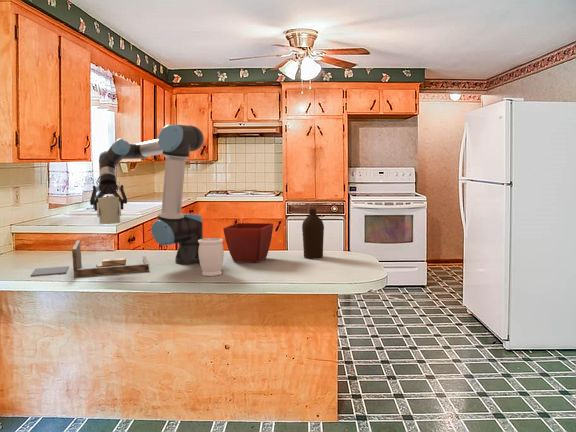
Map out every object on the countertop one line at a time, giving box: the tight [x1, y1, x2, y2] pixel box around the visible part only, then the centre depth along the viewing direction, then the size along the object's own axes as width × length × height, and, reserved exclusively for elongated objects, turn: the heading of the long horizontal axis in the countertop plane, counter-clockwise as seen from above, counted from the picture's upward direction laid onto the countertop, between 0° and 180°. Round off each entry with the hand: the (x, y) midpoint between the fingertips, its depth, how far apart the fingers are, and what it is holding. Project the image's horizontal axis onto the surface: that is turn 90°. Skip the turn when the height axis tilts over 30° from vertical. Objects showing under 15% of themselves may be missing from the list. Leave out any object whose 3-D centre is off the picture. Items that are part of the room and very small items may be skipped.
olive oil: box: [301, 205, 325, 260], centre depth 253 cm, size 11×11×25 cm
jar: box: [198, 237, 225, 277], centre depth 220 cm, size 11×10×15 cm
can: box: [98, 196, 121, 225], centre depth 237 cm, size 9×9×12 cm
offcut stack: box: [95, 257, 127, 268], centre depth 231 cm, size 15×5×5 cm, turn 111°
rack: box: [71, 239, 150, 278], centre depth 237 cm, size 31×26×12 cm
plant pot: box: [223, 222, 274, 263], centre depth 249 cm, size 19×19×17 cm
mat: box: [30, 265, 69, 277], centre depth 232 cm, size 14×14×1 cm
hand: (109, 214), depth 234 cm, fingers closed on can, 9 cm apart
